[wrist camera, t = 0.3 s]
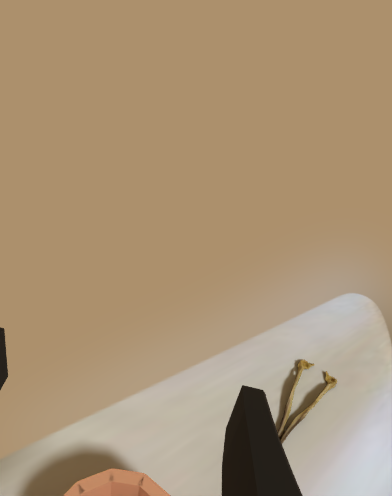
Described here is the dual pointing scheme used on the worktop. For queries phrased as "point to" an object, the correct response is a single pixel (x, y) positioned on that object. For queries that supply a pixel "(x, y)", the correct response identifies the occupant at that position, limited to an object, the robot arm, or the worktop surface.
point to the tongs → (330, 384)
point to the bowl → (116, 485)
